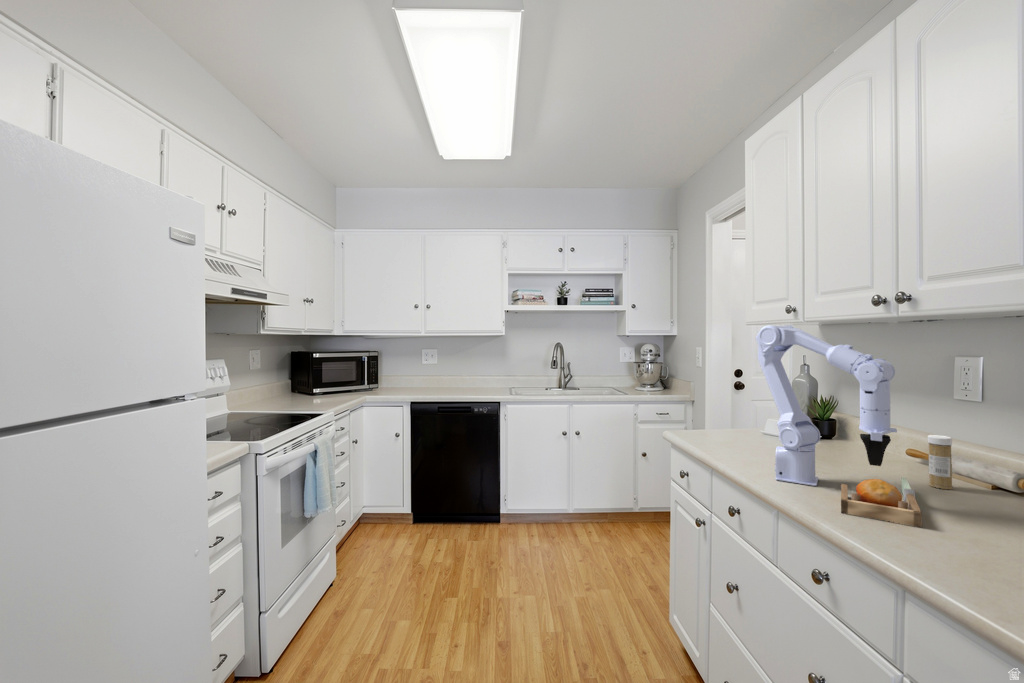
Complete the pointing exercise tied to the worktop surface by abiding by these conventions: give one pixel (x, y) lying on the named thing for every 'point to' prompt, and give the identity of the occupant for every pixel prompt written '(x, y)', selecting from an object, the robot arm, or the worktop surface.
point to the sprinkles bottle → (940, 461)
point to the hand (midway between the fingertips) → (875, 464)
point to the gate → (906, 488)
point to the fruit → (878, 492)
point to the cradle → (882, 509)
